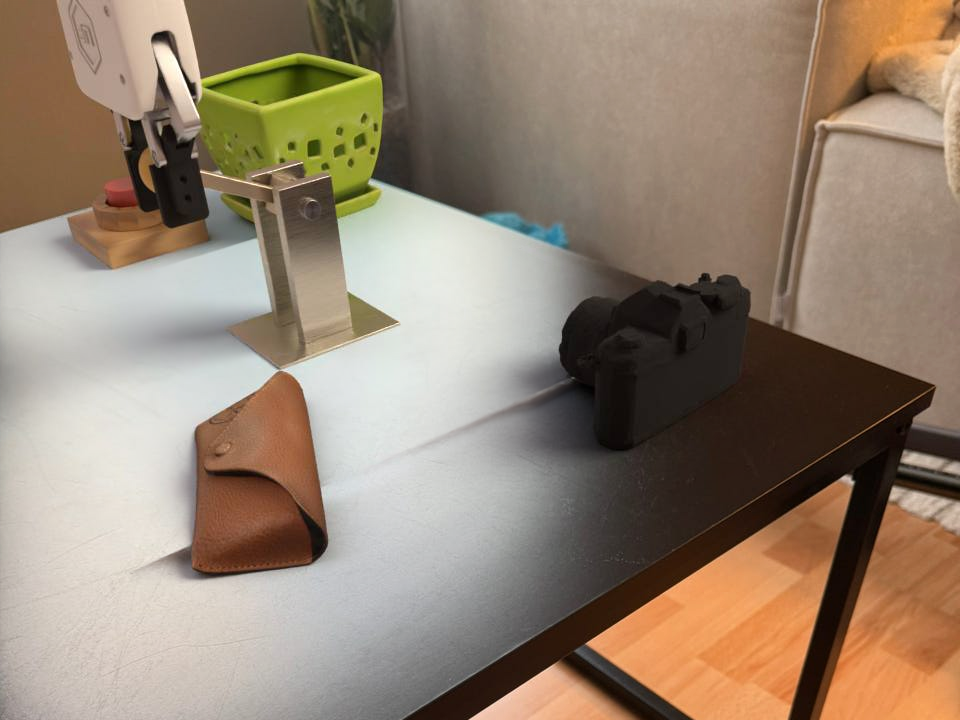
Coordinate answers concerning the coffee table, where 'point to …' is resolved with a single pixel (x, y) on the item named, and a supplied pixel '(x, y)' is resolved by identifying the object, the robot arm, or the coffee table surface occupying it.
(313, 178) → the switch bracket
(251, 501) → the sunglasses case
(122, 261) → the button block
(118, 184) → the button
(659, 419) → the film camera
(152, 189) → the switch lever
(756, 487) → the coffee table surface
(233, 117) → the flower pot
